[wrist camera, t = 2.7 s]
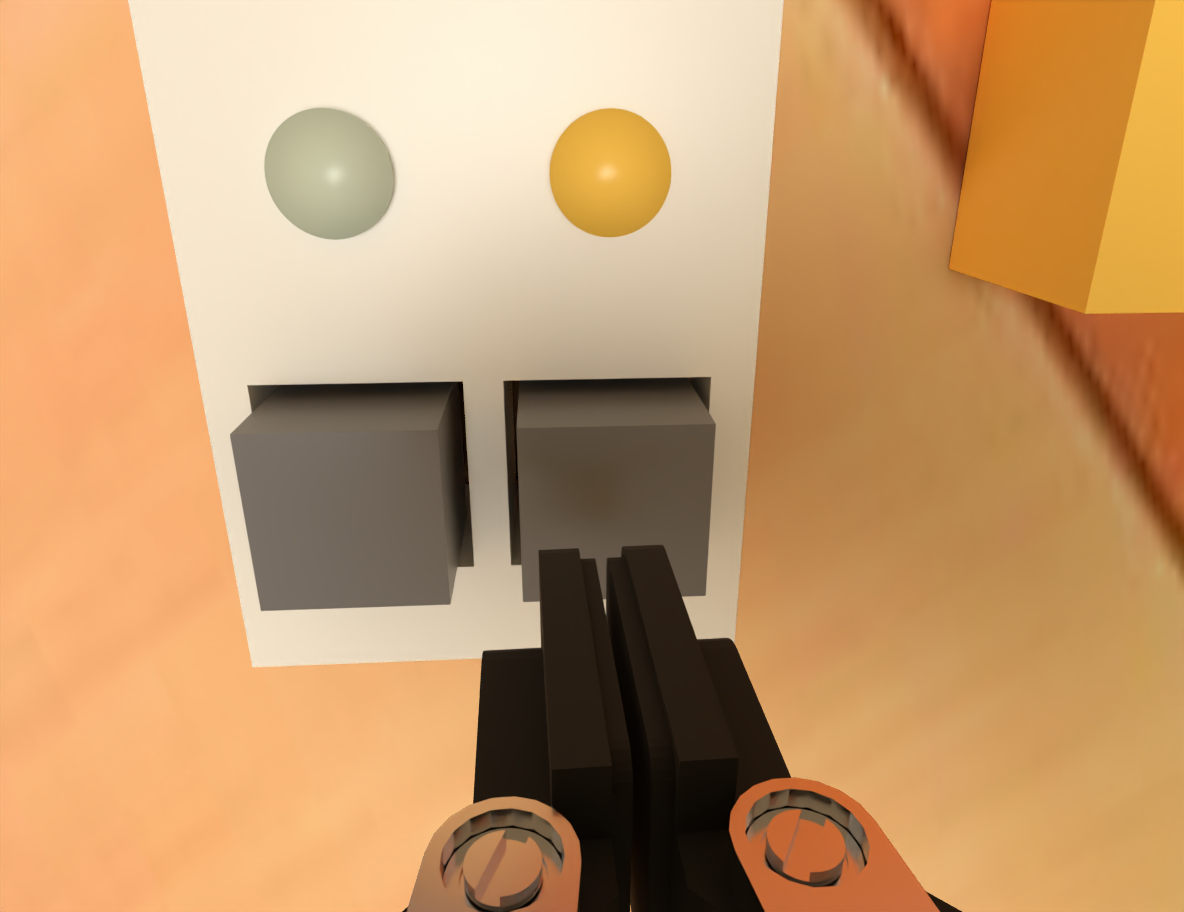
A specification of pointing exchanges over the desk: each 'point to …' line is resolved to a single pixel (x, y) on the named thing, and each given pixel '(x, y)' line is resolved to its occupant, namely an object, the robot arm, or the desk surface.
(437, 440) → the block
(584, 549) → the button
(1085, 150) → the cap
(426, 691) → the desk surface
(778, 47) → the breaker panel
